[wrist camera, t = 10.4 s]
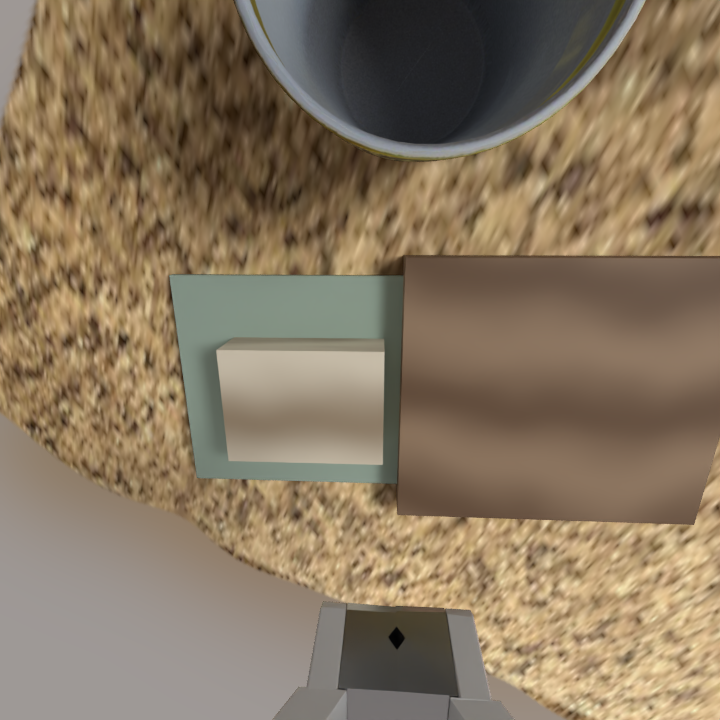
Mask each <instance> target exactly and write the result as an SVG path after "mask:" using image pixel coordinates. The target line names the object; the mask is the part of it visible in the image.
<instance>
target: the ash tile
mask: <svg viewBox="0 0 720 720" xmlns="http://www.w3.org/2000/svg"><path fill="white" fill-rule="evenodd" d="M216 353H217V362H218V371H219V380H220V388H221V397H222V406H223V415H224V424H225V433H226V442H227V451H228V460H229V461H245V462H286V463H326V464H367V465H383V417H384V353H385V351H384V339H366V338H261V337H234V338H232V339H231V340H230V341H228V342H227V343H225V344H224V345H223V346H221V347H220V348H218V349H217V350H216Z"/></svg>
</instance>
